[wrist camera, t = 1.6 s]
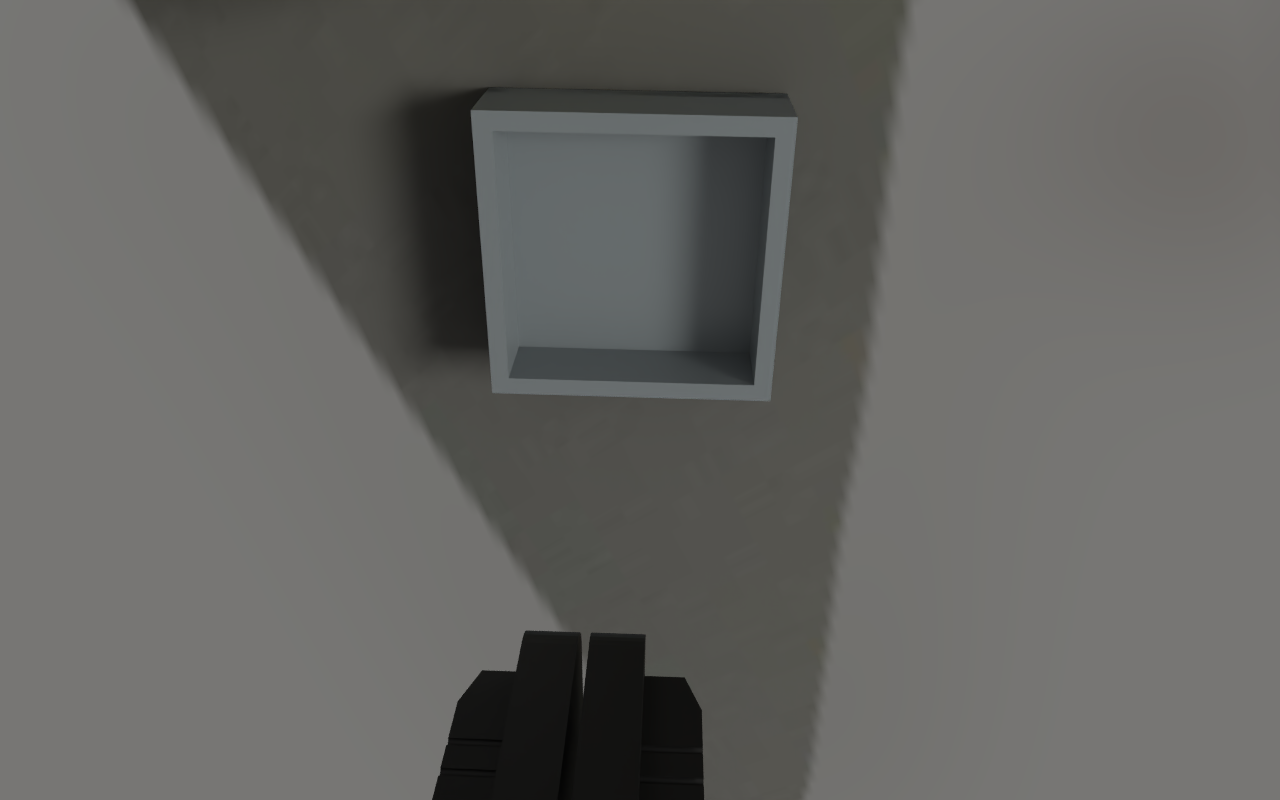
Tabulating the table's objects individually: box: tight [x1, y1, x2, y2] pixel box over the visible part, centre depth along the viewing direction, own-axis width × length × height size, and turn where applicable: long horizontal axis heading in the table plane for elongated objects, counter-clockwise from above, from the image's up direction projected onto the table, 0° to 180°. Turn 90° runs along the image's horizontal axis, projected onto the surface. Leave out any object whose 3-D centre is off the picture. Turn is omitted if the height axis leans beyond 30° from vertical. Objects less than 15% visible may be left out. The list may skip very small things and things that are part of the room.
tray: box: [471, 87, 798, 401], centre depth 26 cm, size 8×8×3 cm
